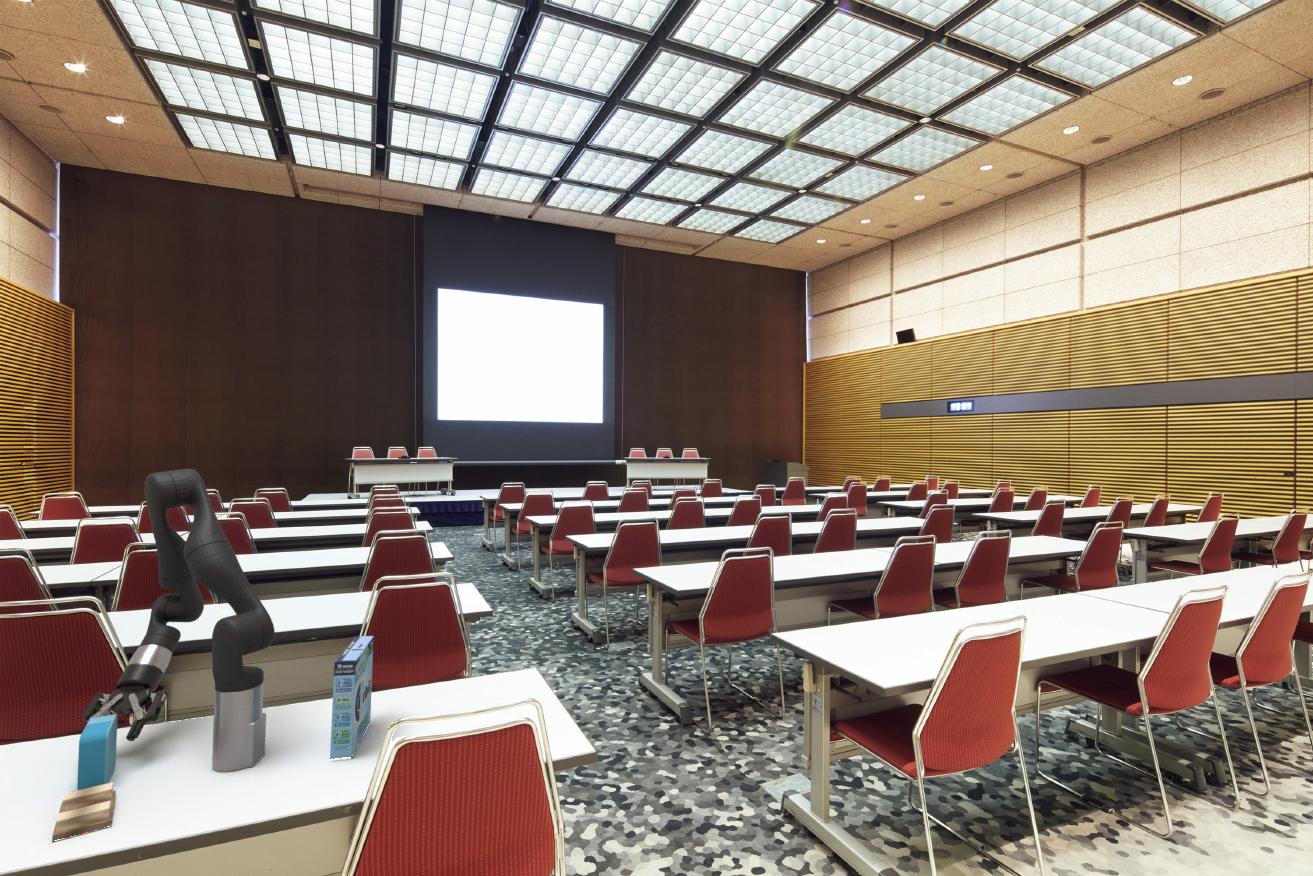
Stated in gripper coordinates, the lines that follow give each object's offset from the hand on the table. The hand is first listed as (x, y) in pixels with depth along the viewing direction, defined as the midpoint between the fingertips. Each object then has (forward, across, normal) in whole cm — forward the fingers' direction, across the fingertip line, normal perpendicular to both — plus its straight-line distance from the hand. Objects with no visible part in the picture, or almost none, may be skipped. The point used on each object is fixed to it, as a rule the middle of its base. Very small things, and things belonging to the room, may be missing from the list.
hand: (108, 740), depth 137 cm
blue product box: (-2, +47, +12) cm, 49 cm away
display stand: (+18, +8, -8) cm, 21 cm away
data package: (+8, +1, +2) cm, 8 cm away
